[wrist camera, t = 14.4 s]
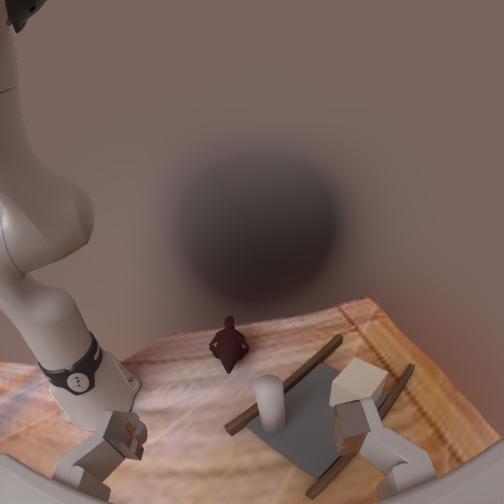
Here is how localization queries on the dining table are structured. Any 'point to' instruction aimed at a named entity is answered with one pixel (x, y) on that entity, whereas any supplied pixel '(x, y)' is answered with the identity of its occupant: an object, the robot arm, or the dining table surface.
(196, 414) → the dining table surface
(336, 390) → the block
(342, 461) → the rails
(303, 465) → the board
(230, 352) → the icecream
